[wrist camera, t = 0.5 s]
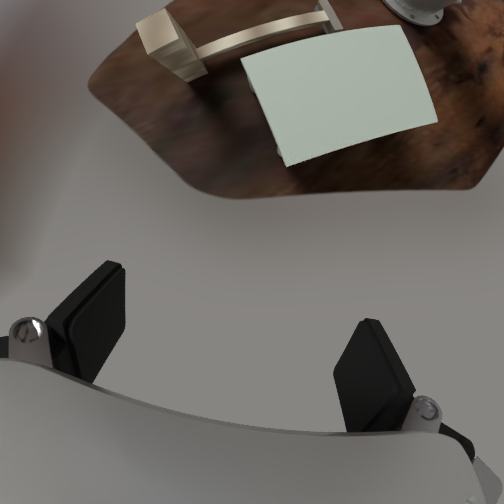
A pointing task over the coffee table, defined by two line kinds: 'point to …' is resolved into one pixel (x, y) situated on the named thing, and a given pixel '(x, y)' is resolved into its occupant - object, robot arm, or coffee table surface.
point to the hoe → (191, 59)
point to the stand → (339, 90)
